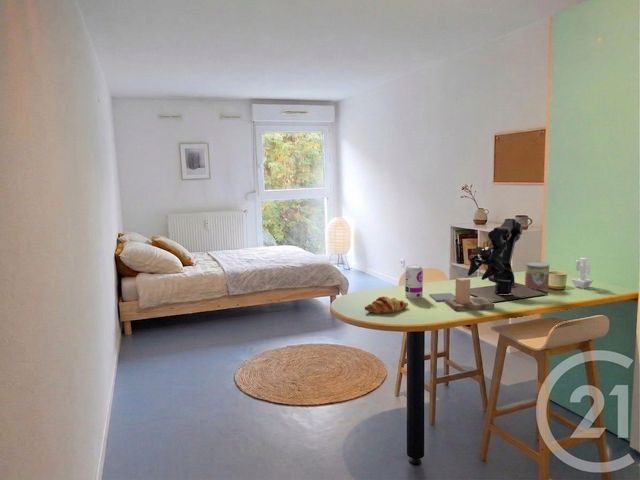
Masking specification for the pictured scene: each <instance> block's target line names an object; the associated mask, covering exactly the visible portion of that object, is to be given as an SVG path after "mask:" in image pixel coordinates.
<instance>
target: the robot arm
mask: <svg viewBox="0 0 640 480" xmlns="http://www.w3.org/2000/svg"><path fill="white" fill-rule="evenodd" d="M522 234H523V226H522V223H519V222H518V221H517V219H516V218H505V219H504V222H503V223H502V224H501V225H500V226H497V227H494V228H493V229H492V230H491V231H490V232H489V233H487V238H488V240H489V243H490V247H489V246H486V247H483V246H482V247H481V246H476V247H475V249H474V252H473V253H474V254H469V256H468V258H467V259H468V261H469V263H470V264H469V265H470V266H469V269H468V272H467V276H469V277H471V276H472V275H473V274H475V272H477V271H478V270H479V269H481V267H482V265H485V266H487V269H486V270H485V272H484V273H483V275H482V276H481V279H480V280H482V281H485V280H486V279H488V277H491V276H493V275H494V281H493V282H494V283H495V285H494V287H495V288H494V292H495V294H496V293H497V294H496V295H498V294H509V293H511V294H512V287H511V284H512V283H514V282H515V274H514V272H513V268H512V266H511V263H512V259H513V255H514V249H515V246H516V245H515V244H516V242H518V241H519V240H520V239H521V235H522ZM476 254H477V255H476ZM478 255H479V256H478Z"/></svg>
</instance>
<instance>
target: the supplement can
mask: <svg viewBox="0 0 640 480" xmlns="http://www.w3.org/2000/svg"><path fill="white" fill-rule="evenodd" d="M404 269H405V270H404V272H405V273H404V275H405V276H404V277H405V279H404V284H405V285H404V287H405V288H404V291H405V297H406V298H408V299H413V300H415V299H421V298H422V296H423V280H424V279H423V275H424V274H423V271H424V270H423V268H422V266H421V265H417V264H416V265H415V264H411V265H407V266H406V267H405V268H404Z"/></svg>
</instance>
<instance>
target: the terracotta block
mask: <svg viewBox="0 0 640 480" xmlns="http://www.w3.org/2000/svg"><path fill="white" fill-rule="evenodd" d="M454 290H455V291H454V292H455V294H454V295H455V302H456V303H457V304H470V298H471V278H466V277H458V278H456V277H455V289H454Z"/></svg>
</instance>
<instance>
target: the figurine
mask: <svg viewBox="0 0 640 480" xmlns="http://www.w3.org/2000/svg"><path fill="white" fill-rule="evenodd" d="M587 259H588V258H586V257H579V259H576V260H575V270H576V271H577V272H579V274H578V276H579V277H578V278H577V277H576V278H572V279H571V278H570V279H571V282H572V284H573V285H574V287H576V288H579V289H586V288H590V286H591V285H592V283H593V281H594V280H592V279H588V278H586V275H590V273H591V266H590V263H587V261H588V260H587Z"/></svg>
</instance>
